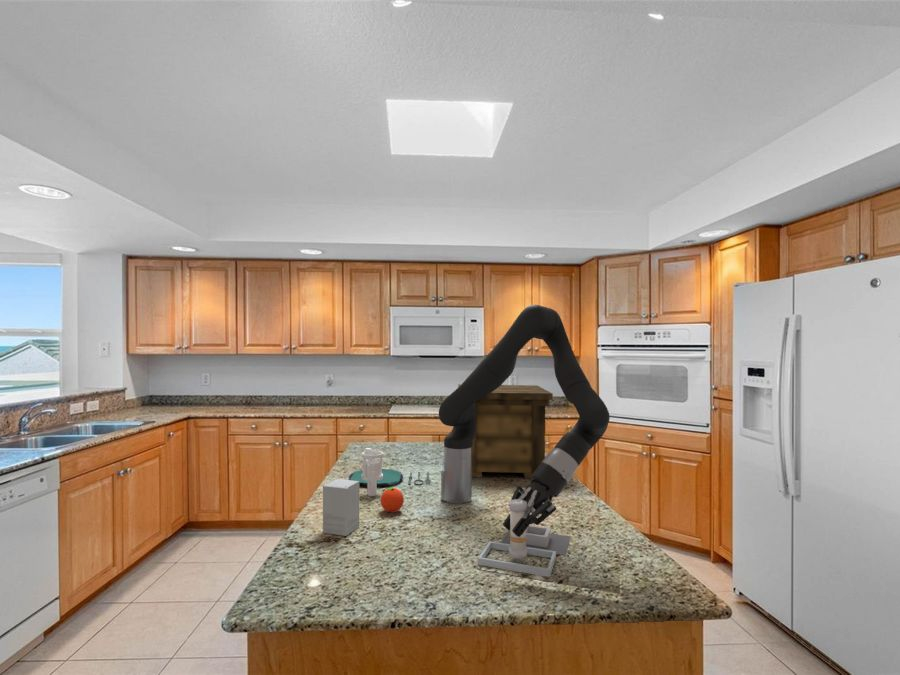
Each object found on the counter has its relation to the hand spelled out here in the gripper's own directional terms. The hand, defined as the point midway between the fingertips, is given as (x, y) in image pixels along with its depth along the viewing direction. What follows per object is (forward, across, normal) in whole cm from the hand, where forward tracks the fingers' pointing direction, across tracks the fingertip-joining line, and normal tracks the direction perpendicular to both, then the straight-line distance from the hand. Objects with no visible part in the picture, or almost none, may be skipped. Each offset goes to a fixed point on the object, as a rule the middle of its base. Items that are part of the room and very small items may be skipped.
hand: (510, 530), depth 110 cm
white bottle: (+3, 0, +6) cm, 6 cm away
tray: (+5, 0, +7) cm, 9 cm away
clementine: (+16, -46, -4) cm, 49 cm away
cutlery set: (+9, -78, +3) cm, 78 cm away
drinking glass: (+16, -63, -4) cm, 66 cm away
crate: (-24, -77, +36) cm, 88 cm away
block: (-3, -8, +15) cm, 17 cm away
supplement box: (+28, -37, -16) cm, 49 cm away
